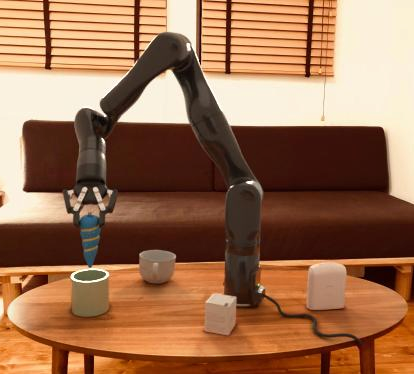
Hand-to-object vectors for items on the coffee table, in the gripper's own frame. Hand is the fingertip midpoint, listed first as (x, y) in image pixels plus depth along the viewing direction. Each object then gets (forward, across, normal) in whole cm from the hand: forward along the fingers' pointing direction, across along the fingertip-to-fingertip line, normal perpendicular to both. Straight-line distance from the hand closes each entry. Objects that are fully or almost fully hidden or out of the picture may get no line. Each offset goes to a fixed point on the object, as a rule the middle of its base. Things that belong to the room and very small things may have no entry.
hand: (89, 226), depth 113 cm
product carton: (+25, +31, +6) cm, 40 cm away
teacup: (+3, +18, +28) cm, 34 cm away
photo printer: (+20, +61, +12) cm, 65 cm away
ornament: (+7, 0, +9) cm, 12 cm away
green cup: (+15, 0, +17) cm, 22 cm away
